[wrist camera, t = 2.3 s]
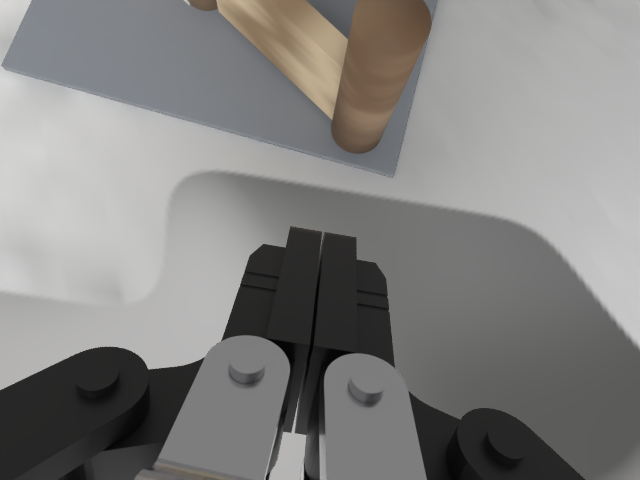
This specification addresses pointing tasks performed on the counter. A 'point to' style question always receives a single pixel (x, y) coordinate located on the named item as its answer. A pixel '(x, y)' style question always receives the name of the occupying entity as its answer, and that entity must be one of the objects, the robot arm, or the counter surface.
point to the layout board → (192, 70)
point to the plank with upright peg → (340, 57)
